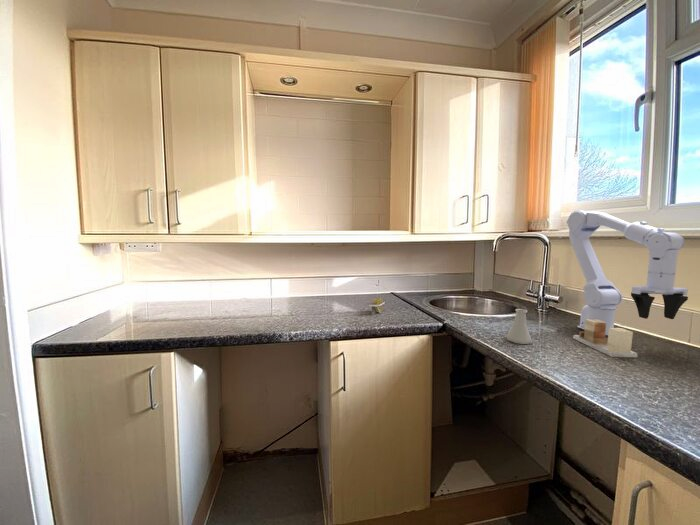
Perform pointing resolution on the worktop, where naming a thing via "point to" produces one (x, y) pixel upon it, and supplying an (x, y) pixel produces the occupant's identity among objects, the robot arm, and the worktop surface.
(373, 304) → the green irregular piece
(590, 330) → the block
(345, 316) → the worktop surface
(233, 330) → the worktop surface
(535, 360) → the worktop surface
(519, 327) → the flask
